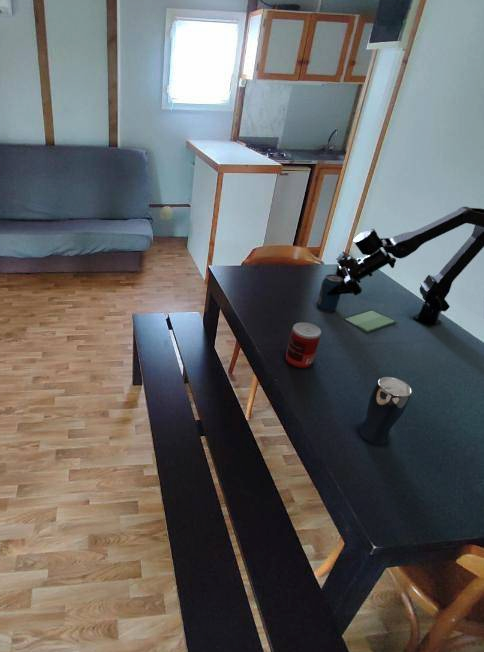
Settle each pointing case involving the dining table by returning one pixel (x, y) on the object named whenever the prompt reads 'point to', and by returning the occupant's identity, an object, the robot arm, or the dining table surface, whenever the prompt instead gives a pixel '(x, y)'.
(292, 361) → the canned food
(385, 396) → the beer glass
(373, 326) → the cloth
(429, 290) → the robot arm
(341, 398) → the dining table surface
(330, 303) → the soda can
